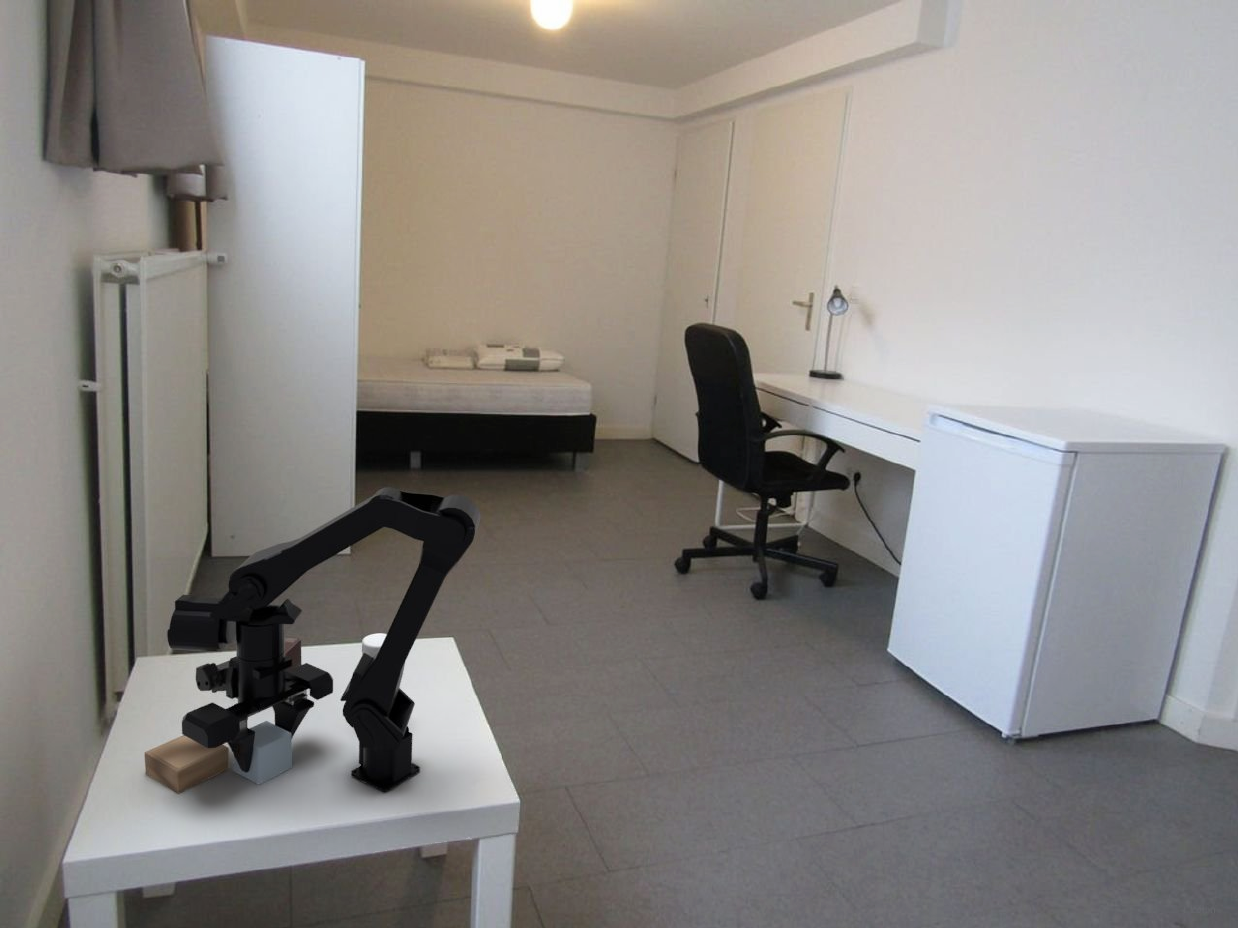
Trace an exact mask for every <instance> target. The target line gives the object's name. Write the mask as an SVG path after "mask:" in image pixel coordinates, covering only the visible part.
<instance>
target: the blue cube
mask: <svg viewBox="0 0 1238 928" xmlns="http://www.w3.org/2000/svg"><path fill="white" fill-rule="evenodd" d="M249 729H251V730H253V731H255V739H254V746H253V753H252V761H251V765H250V769H249V772H247V773H245V772H243V771H242V770H241V769H240V767H239V765H238V762H237V760H236V758H235V756H234V755H233V771H234V773H237V774H239V775H240V776H242V777H243V778H246V779H248V780H249V781H251V782H253V783H255V784H257V785H262V784H263V783H265V782H268V781H269V780H271V779H273V778H275V777H277V776H278V775H280V774H282V773H285V772H286V771H288V770H290V769H291V768H292V767H293V762H292V761H293V759H292V757H293V756H292V749H293V748H292V746H293V745H292V744H293V743H292V740H291V733H290V732H288V731H286V730H284V729H282V728H280V727H278V726H276V725H275V723H274V724H273V723H272V722H270V721H269V720H265V721H263V722H260V723H259V724H257V725H254V726H252V727H250V728H249Z"/></svg>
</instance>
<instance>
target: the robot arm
mask: <svg viewBox="0 0 1238 928" xmlns="http://www.w3.org/2000/svg"><path fill="white" fill-rule="evenodd" d="M480 521H481V512H480V509H479V507H478V505H477V503H475V501H474V500H473V499H471V498H469V497H468V496H466V495H462V494H451V495H449V496H444V495H439V494H436V493H429V492H418V491H407V490H402V489H398V488H396V487H395V488H394V487H391V486H389V487H387V486H386V487H382V488H380V489H379V490H377V492H376V493H375V494H374V495H372V496H370V497H369V498H367V499H365V500H363V501H362V502H359V504H357V505H354V506H353V507H351V508H349V509H348V510H346V511H344V512H343V513H341V514H339V515H337V516H336V517H333V518H332V519H330V520H328V521H327V522H324V524H322V525H320V526H318V527H316V528H314V529H313V530H311V531H309V532H308V533H306V534H304V535H303V536H301V537H299V538H297V539H294V540H291V541H286V542H282V543H278V544H275V545H272V546H269V547H267V548H264V549H261V550H259V551H256V552H254V553H252V554H251V555H250V556H249V557H248V558H246V560H245V561H244V562H242V564H240V565H239V566H238V567H237V568H236V569H235V570H234V571H233V572H231V574H230V576H229V580H228V583H227V584H228V591H226V593H225V594H223V596H222V597H209V596H208V597H206V596H197V595H196V596H195V595H192V594H182V595H181V596H179V597H178V598H177V599H176V600H175V601H174V611H173V612H172V616H171V618H170V622H169V628H168V629H167V636H166V637H167V643H168V645H169V647H170V648H171V650H175V651H176V650H177V651H179V650H180V651H199V652H217V653H218V652H219V653H220V652H222V651H223V650H225V648H226V646H227V645H231V644H232V643H233V642H234V640H235V645H236V646H235V649H236V655H235V656H234V657H231V658H230V659H229V660H227V661H223V662H222V663H219V664H216V663H215V662H211V663H209V662H208V663H205V664H203V665H200V666H197V667H195V668H196V669H195V683H196V687H197V689H198V690H199V691H200V692H210V691H211V693H212V694H216V693H217V692H225V697H227V698H229V699H231V700H233V699H237V703H234V704H233V705H231V706H229V707H227V708H225V707H223V706H220V705H218V704H217V703H215V702H210V703H208V704H205V705H203V706H201V707H197V708H196V709H193V710H191V711H188V712H187V713H186V714H184V716H183V717H182V720H181V734H182V736H183V735H185V736H187V737H188V738H190V739H192V740H194V741H196V742H197V743H199V744H201V745H203V746H205V747H207V748H216V747H218V746H220V745H222V744H223V745H225V744H228V746H229V748H230V750H231V752H232V754H233V757H234V756H235V758H236V760H237V762H238V765H239V767H240V769H241V770H242V771H243V772H245V773H247V772H249V769H250V765H251V761H252V753H253V746H254V739H255V731H253V730H251V729H250V728H249V727H248V720H249V717H251V716H253V715H256V714H259V713H260V712H263V711H265V710H267V709H269V708H272V709H273V712H274V725H276V726H278V727H280V728H282V729H284V730H286V731H288V732H290V733H291V741H292V739H293V738H294V735H295V734H296V732H297V730H298V728H299V727H300V725H301V724H302V721H303V720H304V719H305V717H306V715H307V714H308V712H309V711H310V710H311V709H312V708H314V706H315V702H314V701H313V700H311V699H309V698H308V691H307V690H309V696H310V697H312V698H313V699H314V700H317V701H319V700H320V699H323V698H325V697H327V696H329V695H331V694H333V693H334V678H333V677H332V675H331V673H329V672H328V671H327V670H324V669H322V668H319V667H317V666H315V665H312V664H310V663H307V662H305V663H303V664H302V665H300V666H298V667H296V668H293V669H291V670H288V671H286V672H285V669H286V668H289V667H291V666H292V659H291V658H289V657H286V656H285V637H286V627H285V626H286V625H294V624H295V622H296V621H297V620H298V619H299V617H300V616H301V615H302V614H303V609H301V607H299V606H297V605H296V604H294V603H292V601H291V600H290V598H285V599H284V601H283V602H282V603H280V604H279V603H278V604H277V603H275V604H274V603H272V602H274V601H275V600H276V599H277V598H278V597H280V596H281V595H282V594H283V593H284V592H286V591H287V590H288V589H289V588H290V587H291V586H292V585H293V584H294V583H295V582H296V581H298V580H299V579H300V578H301V577H302V576H303V575H304V574H306V573H307V572H308V571H309V570H312V569H313V568H315V567H317V566H318V565H320V564H322V563H324V562H325V561H327V560H328V559H331V558H332V557H334V556H336V555H337V554H339V553H341V552H343V551H345V550H347V549H348V548H349V547H352V546H353V545H355V544H357V543H358V542H360V541H362V540H363V539H365V538H367V537H370V536H371V535H372V534H374V533H376V532H378V531H380V530H381V529H382V528H388V529H392V530H394V531H397V532H398V533H399V532H400V533H401V534H403V535H405V536H407V537H408V538H412V539H413V540H417V541H421V542H423V543H422V545H421V546H422V547H421V551H420V556H419V562H418V567H417V568H416V571H415V573H414V575H413V578H412V580H411V581H410V584H409V586H408V588H407V590H406V592H405V595H404V596H403V599H402V601H401V604H400V605H399V607H398V610H397V612H396V614H395V616H394V618H393V620H392V622H391V624H390V627H389V629H388V631H387V633H386V634H387V635H386V637H385V639H384V641H383V644H382V646H381V648H380V649H379V651H378V652H377V653H376V654H375V655H374V657H373V658H372V657H371V656H369V655H368V654H366V653H363V655H362V654H361V657H360V659H359V661H358V663H357V665H356V666H355V669H354V671H353V672H352V676H351V678H350V679H349V682H348V684H347V686H346V687H345V689H344V692H343V694H342V696H341V697H340V701H341V702H345V703H344V705H343V708H342V716H343V717H344V719H345V721H346V723H348V725H349V726H350V727H351V728H353V730H354V733H355V734H356V737H357V740H358V764H359V766H357V767H355V768H354V769H352V770H351V771H350V775H351V777H353V778H355V779H357V780H359V781H361V782H363V783H365V784H367V785H369V786H371V787H373V788H375V789H377V790H379V791H381V792H383V793H388V792H390V790H392V789H394V788H395V787H397V786H399V785H400V784H402V783H403V782H405V781H407V780H408V779H410V778H411V777H413V776H414V775H416V774H417V773H419V772H420V770H421V767H420V766H419V765H417V764H416V763H413V733H412V732H410V728H409V726H408V724H409V722H410V719H411V717H412V713H413V710H414V707H415V704H416V703H415V701H414V700H413V699H412V698H411V697H409V695H407V694H406V692H404V691H403V690H402V689H401V688H400V687H401V683H402V679H403V675H404V671H405V670H404V669H405V666H406V665H405V664H406V661H407V658H408V657H409V654H410V652H411V650H412V648H413V646H414V644H415V642H416V640H417V637H418V636H419V633H420V632H421V629H422V627H423V625H424V623H425V621H426V619H427V616H428V614H429V612H430V610H431V608H432V606H433V604H434V602H435V600H436V597H437V595H438V593H439V591H440V589H441V587H442V585H443V583H444V581H445V579H446V577H447V576H448V575H449V574H450V572H451V571H452V570H453V569H454V568H455V566H456V565H457V564H458V562H459V561H460V560H461V559H462V557H463V556H464V554H465V553H466V552H467V551H468V549H469V547H470V546H471V545H472V543H473V541H474V538H475V536H476V533H477V530H478V528H479V524H480Z"/></svg>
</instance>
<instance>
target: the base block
mask: <svg viewBox="0 0 1238 928" xmlns="http://www.w3.org/2000/svg"><path fill="white" fill-rule="evenodd" d="M229 748H230V747H228V746H226V745H225V744H222V745H220V746H218V747H216V748H207V747H205V746H203V745H201V744H199V743H197V742H196V741H194V740H192V739H190V738H188V737H187V736H185V735H183V734H182V735H181V736H179V737H175V738H173V739H171V740H169V741H167V742H165V743H163V744H160V745H158V746H156V747H153V748H151V749H148V750H146V751H145V752H144V766H145V767H144V768H145V770H144V771H145V774H146V775H148V776H149V777H151V778H153V779H154V780H155V781H158V782H159V783H161V784H162V785H164V786H166V787H167V788H168V789H170V790H172V791H173V792H176V793H177V794H180V793H182V792H185V791H186V790H188V789H190V788H193V787H194V786H196V785H199V784H201V783H202V782H205V781H206V780H209V779H211V778H212V777H215V776H216V775H218V774H221V773H223V772H226V770H227V771H228V770H229V769H230V753H229V751H230V750H229Z"/></svg>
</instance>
